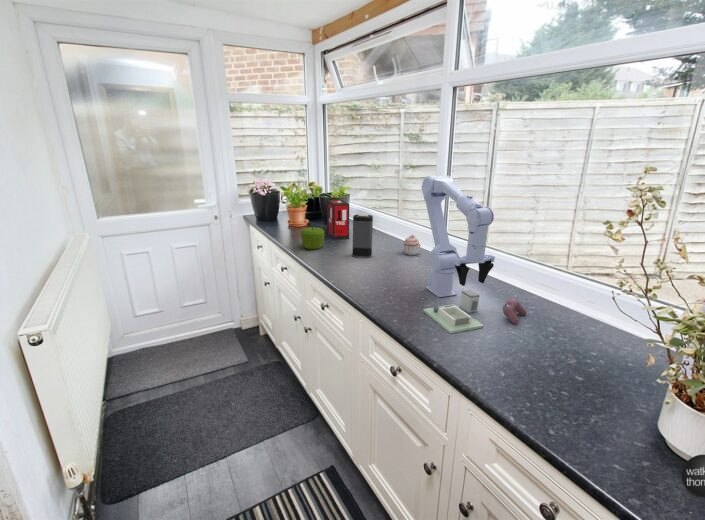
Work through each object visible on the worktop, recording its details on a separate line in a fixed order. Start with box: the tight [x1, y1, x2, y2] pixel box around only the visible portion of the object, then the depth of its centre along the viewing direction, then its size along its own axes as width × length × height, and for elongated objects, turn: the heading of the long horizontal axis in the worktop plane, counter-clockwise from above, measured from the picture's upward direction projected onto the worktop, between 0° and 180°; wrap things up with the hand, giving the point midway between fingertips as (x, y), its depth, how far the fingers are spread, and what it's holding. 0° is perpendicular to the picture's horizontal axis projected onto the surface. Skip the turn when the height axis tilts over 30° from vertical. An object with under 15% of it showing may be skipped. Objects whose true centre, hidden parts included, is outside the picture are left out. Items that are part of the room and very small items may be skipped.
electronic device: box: [352, 214, 374, 259], centre depth 181 cm, size 9×6×20 cm, turn 84°
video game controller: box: [502, 298, 528, 325], centre depth 122 cm, size 10×5×7 cm, turn 141°
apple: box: [300, 226, 326, 251], centre depth 194 cm, size 12×12×11 cm
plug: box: [459, 289, 480, 313], centre depth 127 cm, size 6×4×6 cm, turn 19°
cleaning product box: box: [326, 199, 350, 241], centre depth 218 cm, size 16×9×20 cm, turn 17°
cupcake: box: [402, 234, 422, 256], centre depth 187 cm, size 9×9×10 cm
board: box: [423, 304, 484, 335], centre depth 121 cm, size 16×12×3 cm
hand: (471, 283), depth 126 cm, fingers open, 7 cm apart
